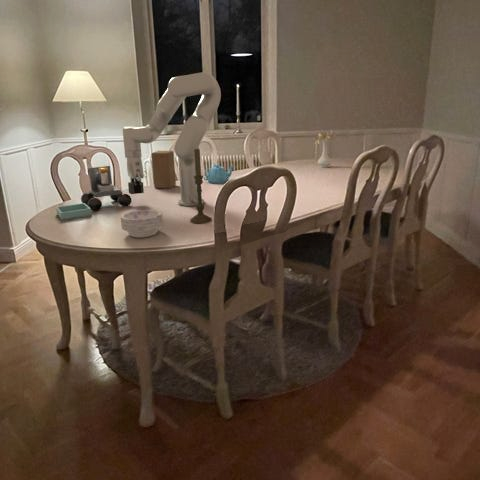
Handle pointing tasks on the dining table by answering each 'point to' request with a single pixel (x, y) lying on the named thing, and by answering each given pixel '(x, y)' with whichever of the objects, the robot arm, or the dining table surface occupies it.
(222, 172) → the teapot
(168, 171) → the wooden block
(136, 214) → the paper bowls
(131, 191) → the chock
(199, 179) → the candlestick holder
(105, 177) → the stop pin
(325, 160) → the flower vase
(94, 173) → the trolley
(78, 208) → the tray
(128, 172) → the robot arm
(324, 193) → the dining table surface
